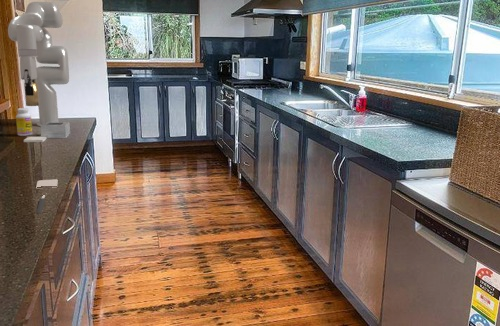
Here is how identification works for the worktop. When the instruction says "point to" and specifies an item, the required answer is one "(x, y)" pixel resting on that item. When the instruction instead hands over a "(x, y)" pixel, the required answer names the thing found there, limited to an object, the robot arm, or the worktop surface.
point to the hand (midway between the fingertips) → (31, 94)
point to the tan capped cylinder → (32, 99)
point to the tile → (35, 139)
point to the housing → (55, 129)
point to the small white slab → (41, 202)
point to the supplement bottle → (23, 122)
